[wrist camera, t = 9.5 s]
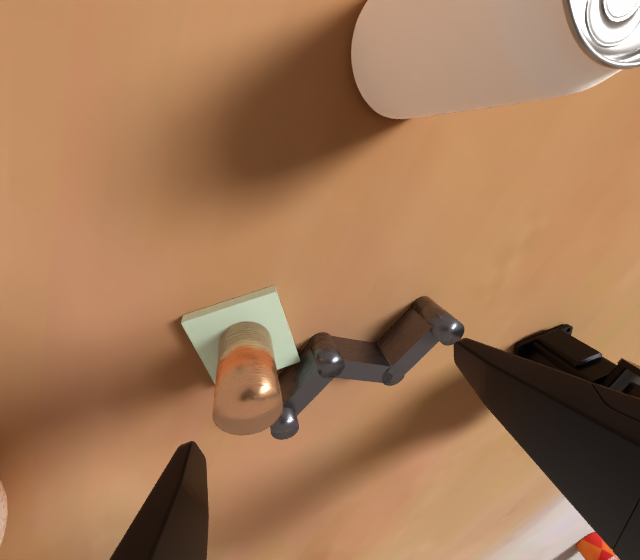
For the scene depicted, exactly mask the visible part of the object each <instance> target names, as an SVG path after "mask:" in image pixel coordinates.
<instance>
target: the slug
mask: <svg viewBox="0 0 640 560" xmlns="http://www.w3.org/2000/svg"><path fill="white" fill-rule="evenodd" d="M282 409H283V402H282V396H281V390H280V385H279V379H278V373H277V368H276V362H275V356H274V351H273V345H272V340H271V335H270V333H269V331H268V330H267V329H266V328H265V327H264V326H263V325H261V324H259V323H256V322H251V321H243V322H238V323H235V324H233V325H231V326H230V327H228V328H227V329H226V330H225V331H224V332H223V333H222V335H221V337H220V340H219V348H218V359H217V370H216V381H215V392H214V403H213V420H214V422H215V424H216V425H217V426H218V427H219V428H220V429H221V430H223V431H225V432H227V433H229V434H233V435H250V434H255V433H258V432H261V431H263V430H265V429H267V428H268V427H270V426H271V425H272V424H274V423H275V422H276V420H277V419H278V418H279V416H280V415H281V412H282Z"/></svg>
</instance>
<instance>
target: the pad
mask: <svg viewBox="0 0 640 560" xmlns="http://www.w3.org/2000/svg"><path fill="white" fill-rule="evenodd" d="M243 321H251V322H256V323H259V324H261V325H263V326H264V327H265V328H266V329H267V330H268V331H269V333H270V335H271V340H272V345H273V351H274V356H275V362H276V368H277V370H278V369H281V368H284V367H287V366H289V365H292V364H295V363H298V362H300V358H299V355H298V352H297V349H296V346H295V343H294V340H293V337H292V334H291V331H290V329H289V326H288V323H287V320H286V317H285V314H284V311H283V308H282V305H281V302H280V300H279V297H278V294H277V291H276V288H275V285H274V286H271V287H268V288H265V289H261V290H258V291H255V292H252V293H249V294H246V295H243V296H240V297H237V298H234V299H231V300H228V301H225V302H221V303H218V304H215V305H212V306H209V307H206V308H203V309H200V310H197V311H194V312H191V313H188V314H185V315H183V317H182V321H181V324H182V326H183V328H184V330H185V331H186V333H187V335H188V337H189V339H190V340H191V342H192V344H193V346H194V348H195V349H196V351H197V353H198V355H199V357H200V358H201V360H202V362H203V364H204V366H205V367H206V369H207V371H208V373H209V375H210V376H211V378H212V380H213V382H214V384H215V381H216V370H217V359H218V348H219V340H220V337H221V335H222V333H223V332H224V331H225V330H226V329H227V328H228V327H230V326H231V325H233V324H235V323H238V322H243Z"/></svg>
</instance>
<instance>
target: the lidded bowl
mask: <svg viewBox="0 0 640 560" xmlns="http://www.w3.org/2000/svg"><path fill="white" fill-rule="evenodd" d="M7 517H8V509H7V496H6V493H5V490H4V487H3V485H2V482H1V481H0V546H1V543H2V540H3V537H4V533H5V529H6V523H7Z"/></svg>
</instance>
